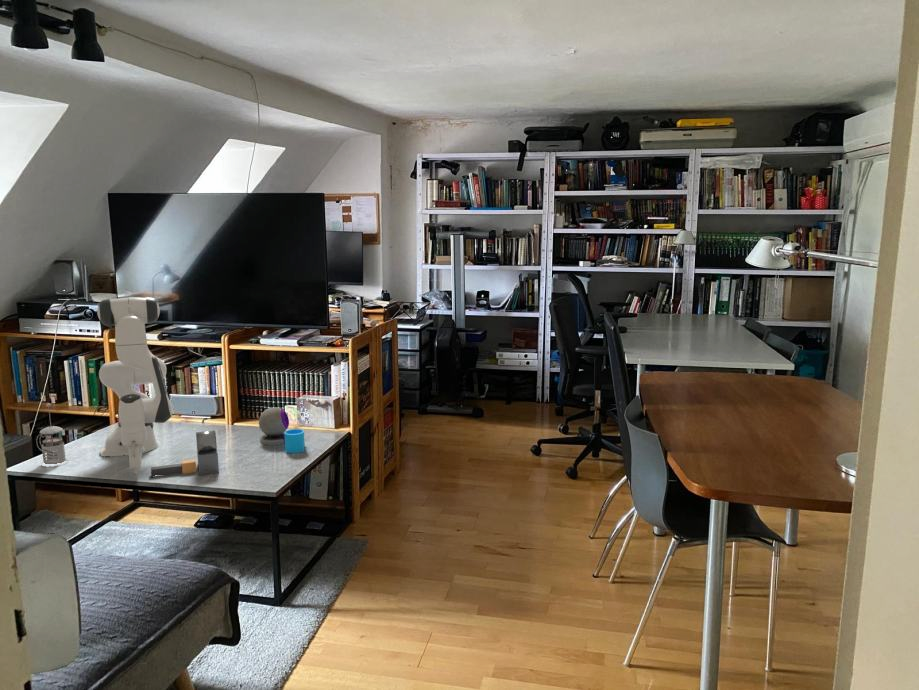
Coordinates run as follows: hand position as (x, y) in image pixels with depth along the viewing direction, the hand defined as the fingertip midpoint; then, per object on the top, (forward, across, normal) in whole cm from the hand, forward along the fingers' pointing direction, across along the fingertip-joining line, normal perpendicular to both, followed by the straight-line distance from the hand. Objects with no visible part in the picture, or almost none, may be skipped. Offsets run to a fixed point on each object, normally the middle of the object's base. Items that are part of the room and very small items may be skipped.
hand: (137, 472), depth 261 cm
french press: (+2, +32, +32) cm, 46 cm away
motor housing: (+2, 0, -25) cm, 25 cm away
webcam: (+2, +26, -55) cm, 61 cm away
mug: (+2, +10, -62) cm, 63 cm away
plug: (+2, 0, -13) cm, 13 cm away
